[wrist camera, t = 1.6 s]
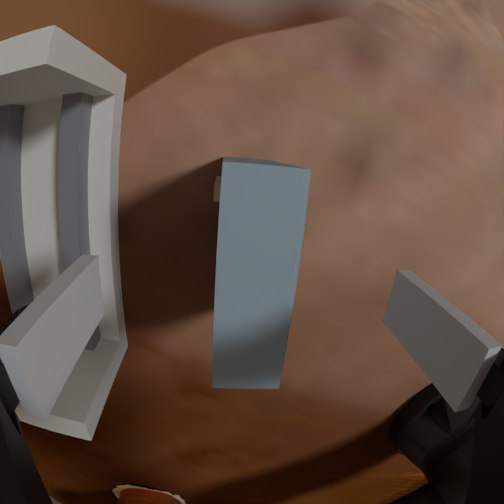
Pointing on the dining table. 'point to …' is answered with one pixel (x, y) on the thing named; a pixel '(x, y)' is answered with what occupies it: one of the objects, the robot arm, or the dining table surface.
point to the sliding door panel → (256, 268)
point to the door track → (43, 103)
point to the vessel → (144, 496)
